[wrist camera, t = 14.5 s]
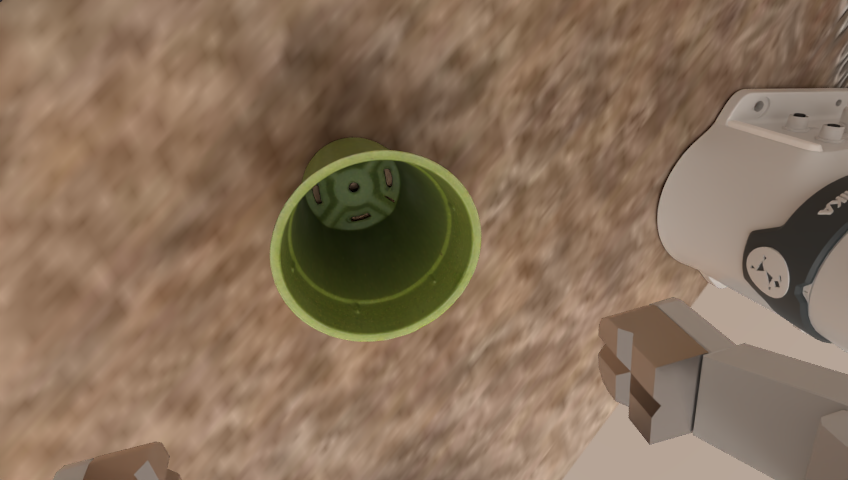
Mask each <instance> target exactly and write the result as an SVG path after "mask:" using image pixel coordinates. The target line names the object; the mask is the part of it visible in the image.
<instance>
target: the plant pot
mask: <svg viewBox="0 0 848 480" xmlns="http://www.w3.org/2000/svg"><path fill="white" fill-rule="evenodd" d="M384 169H389V170H390V171H391V175H392V183H393V184H392V186H391V187H388V186H387V185H386V178H385V174H384ZM353 182H354V183H357V184H358V185H359V189H358V190H357V191H356V192H352V191H350V190H349V186H350V184H351V183H353ZM315 185H318V186H319V192H320V198H321V201H322V203H321V204H317V203H316V201H315V198H314V195H313V191H312V187H314V186H315ZM385 195H386V196H387V197H390V198H392V199H394V201H395V202H392V201H390V200H389V199H387V198H386V197H385ZM366 213H369V214H370V216H371V217H368V218H365V219H363V220H360V221H355V222H352V221H351V218H352V217H356V216H360V215H364V214H366ZM480 248H481V225H480V220H479V215H478V212H477V209H476V206H475V204H474V202H473V200H472V198H471V196H470V194H469V193H468V191H467V190H466V188H465V187H464V186H463V184H462V183H461V182H460V181H459V180H458V179H457V178H456V177H455V176H454V175H453V174H452V173H451V172H449V171H448V170H447V169H445V168H444V167H442V166H441V165H439V164H438V163H436V162H434V161H432V160H430V159H428V158H425V157H423V156H420V155H417V154H413V153H409V152H403V151H395V150H389V149H387V148H386V147H384V146H382V145H380V144H379V143H376V142H374V141H372V140H369V139H364V138H355V137H351V138H343V139H339V140H336V141H334V142H331V143H330V144H328V145H326V146H324V147H323V148H322V149H320V150H319V151H318V152H317V153H316V154H315V155H314V156H313V158H312V159H311V160H310V162H309V164H308V165H307V167H306V170H305V172H304V175H303V179H302V183H301V185H300V186H299V187H298V188H297V189H296V190H295V191H294V192H293V194H292V195H291V196H290V198H289V199H288V200H287V202H286V203H285V205H284V207H283V209H282V210H281V212H280V214H279V217H278V219H277V221H276V224H275V227H274V230H273V234H272V239H271V244H270V265H271V271H272V276H273V279H274V282H275V285H276V287H277V290H278V292H279V294H280V295H281V297H282V299H283V300H284V302H285V303H286V304H287V306H288V307H289V308H290V309H291V310H292V312H293V313H294V314H295V315H296V316H297V317H299V318H300V319H301V320H302V321H303V322H305V323H306V324H308V325H309V326H311V327H312V328H314V329H316V330H318V331H320V332H322V333H325V334H327V335H330V336H333V337H336V338H340V339H344V340H349V341H358V342H372V341H382V340H388V339H393V338H396V337H400V336H403V335H407V334H409V333H412V332H414V331H416V330H418V329H420V328H421V327H423V326H425V325H427V324H429V323H430V322H432V321H434V320H435V319H437V318H438V317H439V316H440V315H442V314H443V313H444V312H445V311H446V310H447V309H448V308H449V307H450V306H451V305H452V304H453V303H454V302H455V301H456V300H457V299H458V298H459V297H460V295H461V294H462V293H463V291H464V290H465V288H466V286H467V285H468V283H469V281H470V279H471V277H472V275H473V273H474V271H475V268H476V265H477V262H478V259H479V254H480Z"/></svg>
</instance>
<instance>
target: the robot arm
mask: <svg viewBox="0 0 848 480" xmlns="http://www.w3.org/2000/svg"><path fill="white" fill-rule="evenodd" d="M756 103H757V105H756V107H755V104H756ZM754 107H755V108H754ZM657 225H658V232H659V236H660V239H661V242H662V244H663V246H664V248H665V249H666V251H667V252H668V253H669V254H670V255H671V256H672V257H673V258H674V259H676V260H677V261H679V262H680V263H683V264H685V265H688V266H690V267H692V268H695V269H697V270H699V271H700V273H701V274H702V275H703V277H704V278H705V279H706V280H707V282H709V283H710V284H712V285H714V286H716V287H717V288H726V287H729V288H730V289H732V290H734V291H736V292H738V293H739V294H741V295H743V296H745V297H747V298H748V299H750V300H753V301H754V302H756V303H758V304H759V305H761V306H763V307H765V308H767V309H769V310H770V311H772V312H774V313H777V314H779V315H780V316H782V317H783V318H785V319H786V320H788V321H789V322H790V323H792V324H793V326H794V327H795V328H797V329H798V330H800V331H802V332H804V333H806V334H809V335H811V336H812V337H814V338H815V339H817V340H820V341H822V342H826V343H833V344H835V345H836V346H838V347H839V348H841V349H842V350H844V351H845V352H847V353H848V88H787V89H742V90H739V91H738V92H736V93H735V94H734V95H733V96H732V97H731V98H730V99H729V101H728V102H727V103H726V105H725V106H724V108H723V110H722V111H721V113H720V114H719V116H718V118H717V120H716V121H715V123H714V124H713V125H712V126H711V128H710V129H709V130H708V131H707V132H705V133H704V134H703V135H702V136H701V137H700V138H699V139H698V140H697V141H695V142H694V143H693V144H692V145H691V146H690V147H689V149H688V150H687V151H686V152H685V153H684V154H683V156H682V157H681V158H680V159H679V161H678V162H677V164H676V165H675V167H674V168H673V170H672V172H671V173H670V175H669V177H668V179H667V181H666V183H665V186H664V188H663V191H662V194H661V197H660V201H659V206H658V214H657ZM599 337H600V338H601V339H602V340H603V341H604V343H605V345H604V346H603V348H602V349H601V351H600V352H599V354H598V359H599V370H600V374H601V377H602V380H603V383H604V385H605V386H606V388H607V390H608V392H609V393H610V395H611V396H612V397H613V399H614V400H615V401H616V402H619V403H621V404H623V405H626V406H628V407H629V419H630V420H631V422H632V423H633V424H634V425H635V427H636V428H637V429H638V430H639V432H640V433H641V434H642V436H643V437H644V438H645V439H646V441H647V442H648V443H649V444H654V443H657V442H661V441H664V440H668V439H671V438H675V437H678V436H682V435H686V434H689V433H693V435H694V436H696V437H698V438H700V439H701V440H703V441H705V442H707V443H709V444H711V445H712V446H714V447H716V448H718V449H720V450H722V451H723V452H725V453H727V454H729V455H731V456H733V457H735V458H736V459H738V460H740V461H742V462H744V463H745V464H748V465H749V466H751V467H753V468H755V469H756V470H758V471H760V472H762V473H764V474H766V475H767V476H769V477H771V478H773V479H775V480H848V374H844V373H841V372H838V371H834V370H831V369H828V368H824V367H821V366H818V365H815V364H811V363H808V362H804V361H801V360H798V359H795V358H791V357H788V356H785V355H781V354H778V353H775V352H771V351H768V350H765V349H762V348H758V347H755V346H751V345H748V344H745V343H744V344H740V345H736V344H735V343H733V342H732V341H731V340H730V339H728V338H727V337H726V336H725V335H723V334H722V333H721V332H720V331H719V330H717V329H716V328H715V327H714V326H712V325H711V324H710V323H709V322H708V321H706V320H705V319H704V318H702V317H701V316H700V315H699V314H698V313H697V312H695V311H694V310H693V309H692V308H690V307H689V306H688V305H687V304H685V303H684V302H683V301H682V300H680V299H678V298H674V297H672V298H669V299H665V300H662V301H659V302H655V303H652V304H649V305H648V306H643V307H640V308H636V309H633V310H629V311H626V312H622V313H619V314H615V315H612V316H608V317H605V318H602V319H601V321H600V324H599ZM169 458H170V456H169V454H168V452H167V451H166V449H165V447H164V445H163V444H162V443H160V442H153V443H149V444H145V445H141V446H137V447H133V448H129V449H125V450H121V451H117V452H113V453H109V454H105V455H101V456H97V457H95V458H92V459H88V460H84V461H80V462H76V463H72V464H68V465H64V466H63V467H62V468H61V469H60V470H59V471H57V472H56V474H55V476H54V478H53V480H182V479H181V477H180V475H179V474H178V473H176V472H174V471H171V470H169V469H167V468H168V463H169Z"/></svg>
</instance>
